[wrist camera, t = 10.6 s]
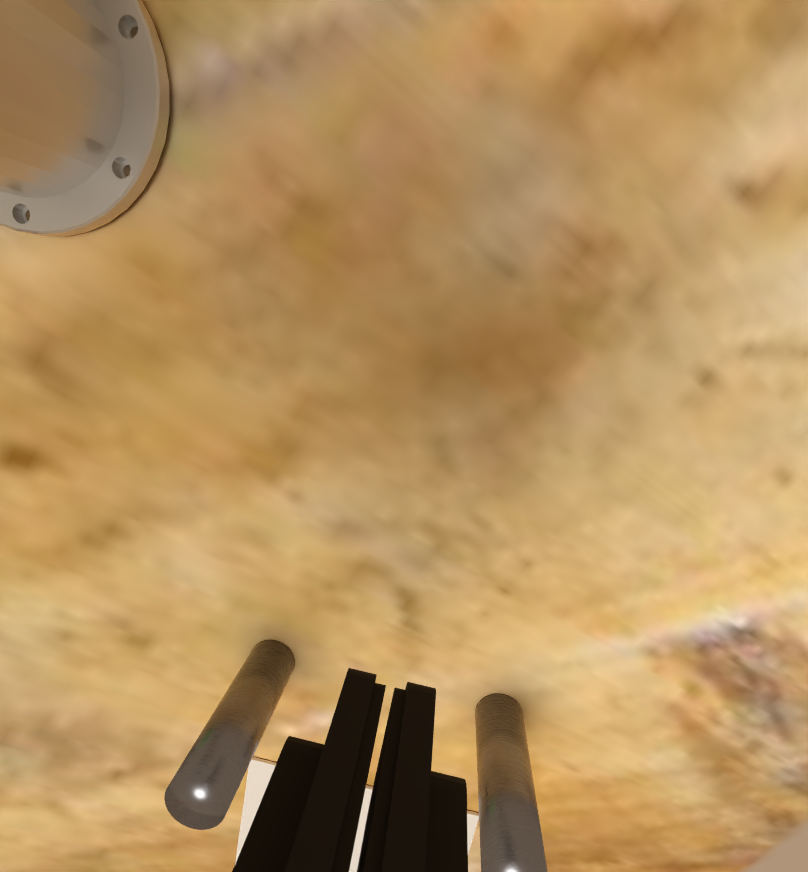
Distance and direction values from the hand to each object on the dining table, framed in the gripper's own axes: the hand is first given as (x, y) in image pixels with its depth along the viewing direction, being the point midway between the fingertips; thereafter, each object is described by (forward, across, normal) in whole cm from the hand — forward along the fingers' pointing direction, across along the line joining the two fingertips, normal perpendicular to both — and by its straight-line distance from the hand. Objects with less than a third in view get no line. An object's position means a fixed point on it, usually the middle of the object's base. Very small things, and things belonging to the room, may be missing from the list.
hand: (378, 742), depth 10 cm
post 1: (+17, +7, +13) cm, 22 cm away
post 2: (+17, -7, +13) cm, 22 cm away
